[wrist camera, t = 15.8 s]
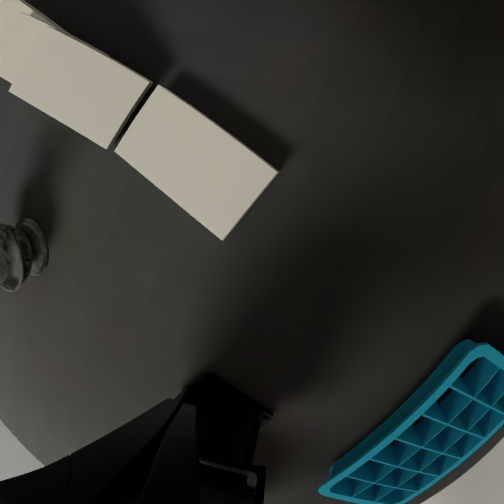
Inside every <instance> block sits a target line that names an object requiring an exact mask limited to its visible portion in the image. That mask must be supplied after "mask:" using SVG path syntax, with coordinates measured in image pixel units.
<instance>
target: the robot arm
mask: <svg viewBox="0 0 504 504" xmlns="http://www.w3.org/2000/svg"><path fill="white" fill-rule="evenodd" d="M208 378H210V379H212V380H209V379H208ZM264 415H267V416H264ZM272 415H273V414H272V412H271V411H269V410H268V409H266V408H265V407H263V406H261V405H260V404H258V403H257V402H255V401H253V400H252V399H250V398H249V397H247V396H246V395H244V394H243V393H241V392H240V391H238V390H237V389H235V388H234V387H232V386H231V385H229V384H228V383H226V382H225V381H223V380H222V379H221V378H219V377H218V376H216V375H215V374H213V373H207V374H205V375H204V376H203V377H202V378H201V379H200V380H199V381H198V382H197V383H196V384H195V385H194V386H192V385H189V386H187V387H186V388H185V389H184V390H183V391H182V392H181V393H180V394H179V395H178V396H177V397H176V398H175V399H174V400H173V399H166V400H164V401H163V402H161V403H160V404H158V405H156V406H155V407H153V408H151V409H150V410H148V411H146V412H145V413H143V414H141V415H140V416H138V417H136V418H135V419H133V420H131V421H130V422H128V423H126V424H125V425H123V426H121V427H119V428H118V429H116V430H114V431H112V432H111V433H109V434H107V435H105V436H104V437H102V438H100V439H98V440H96V441H94V442H93V443H91V444H89V445H87V446H85V447H83V448H82V449H80V450H78V451H76V452H74V453H72V454H71V456H70V455H68V456H66V457H64V458H62V459H60V460H58V461H56V462H54V463H52V464H49V465H47V466H45V467H43V468H40V469H38V470H35V471H32V472H29V473H26V474H24V475H20V476H17V477H13V478H10V479H6V480H3V481H0V504H263V502H264V488H265V473H266V466H261V465H258V466H255V465H252V462H253V457H254V452H255V447H256V442H257V437H258V432H259V428H261V427H262V426H263V425H265V424H266V423H268V422H269V421H270V420H271V419H272Z"/></svg>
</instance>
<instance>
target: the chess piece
mask: <svg viewBox="0 0 504 504" xmlns="http://www.w3.org/2000/svg"><path fill="white" fill-rule="evenodd" d="M48 257H49V255H48V246H47V242H46V238H45V236H44V233H43V232H42V230H41V228H40V227H39V225H38V224H37V223H36V222H35V221H33V220H31V219H27V218H25V219H22V220H20V221H19V222H18V223H17V225H16V227H14V226H10V225H4V224H1V223H0V286H1V287H2V288H3V289H4V290H6V291H8V292H15V291H17V290H18V289H19V288H20V286H21V285H22V283H23V282H24V281H25V280H26V278H27V277H28V275H29V274H30V275H33V276H38V275H40V274H42V273H43V272H44V271H45V269H46V267H47V264H48Z"/></svg>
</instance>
